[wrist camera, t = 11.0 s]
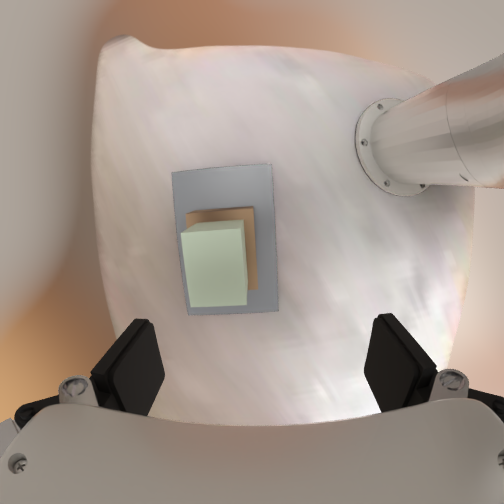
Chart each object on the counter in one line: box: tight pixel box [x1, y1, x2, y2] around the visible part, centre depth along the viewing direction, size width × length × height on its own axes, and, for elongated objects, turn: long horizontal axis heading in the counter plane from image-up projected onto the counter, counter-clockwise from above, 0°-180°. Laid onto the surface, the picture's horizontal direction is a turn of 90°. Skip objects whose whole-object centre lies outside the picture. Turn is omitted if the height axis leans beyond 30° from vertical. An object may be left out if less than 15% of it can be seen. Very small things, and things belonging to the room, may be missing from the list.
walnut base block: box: [185, 206, 258, 290], centre depth 28 cm, size 6×8×4 cm
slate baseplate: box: [172, 164, 279, 315], centre depth 31 cm, size 11×17×1 cm, turn 4°
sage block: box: [181, 219, 248, 307], centre depth 23 cm, size 4×6×6 cm
